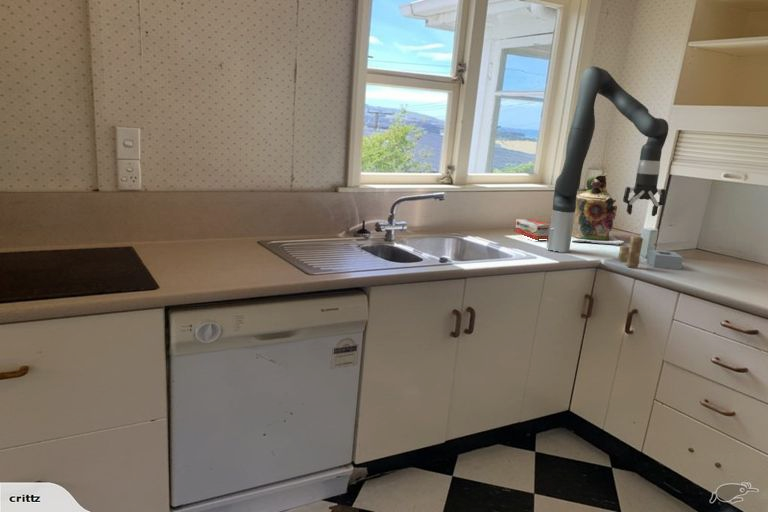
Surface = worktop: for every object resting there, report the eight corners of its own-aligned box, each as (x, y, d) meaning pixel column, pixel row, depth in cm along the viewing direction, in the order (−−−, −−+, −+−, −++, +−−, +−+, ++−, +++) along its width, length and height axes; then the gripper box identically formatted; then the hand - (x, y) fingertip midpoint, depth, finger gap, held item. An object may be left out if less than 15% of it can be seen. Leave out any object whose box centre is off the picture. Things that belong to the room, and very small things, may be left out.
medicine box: (513, 235, 264) (515, 218, 262) (526, 234, 268) (528, 218, 266) (535, 242, 251) (537, 224, 249) (548, 241, 255) (550, 224, 253)
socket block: (653, 267, 216) (655, 254, 215) (646, 261, 226) (648, 249, 225) (680, 269, 214) (682, 257, 213) (672, 263, 224) (674, 251, 223)
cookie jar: (557, 232, 278) (566, 169, 270) (606, 235, 277) (616, 172, 270) (572, 242, 254) (582, 173, 246) (625, 246, 253) (637, 177, 246)
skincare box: (646, 258, 231) (651, 230, 229) (636, 255, 235) (641, 228, 232) (654, 256, 235) (659, 229, 232) (644, 254, 238) (649, 227, 236)
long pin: (628, 267, 213) (633, 237, 210) (626, 265, 216) (631, 235, 213) (637, 268, 212) (643, 238, 209) (635, 266, 215) (640, 236, 212)
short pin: (619, 261, 222) (622, 247, 221) (618, 259, 226) (620, 245, 224) (628, 262, 222) (631, 248, 220) (626, 260, 225) (629, 246, 224)
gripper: (630, 172, 203) (624, 215, 207) (671, 174, 201) (664, 218, 205) (625, 170, 210) (619, 212, 214) (665, 172, 208) (658, 214, 212)
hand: (641, 215), depth 209 cm, fingers open, 8 cm apart
